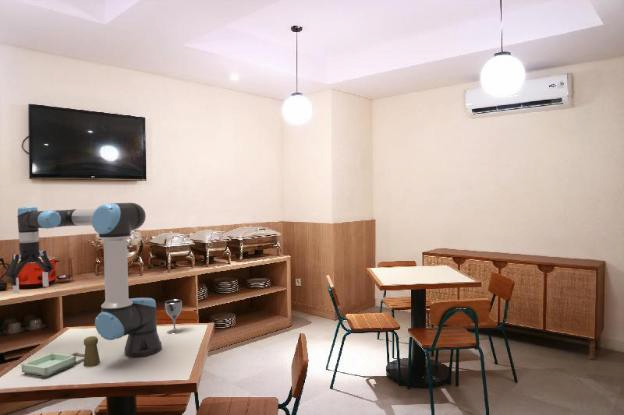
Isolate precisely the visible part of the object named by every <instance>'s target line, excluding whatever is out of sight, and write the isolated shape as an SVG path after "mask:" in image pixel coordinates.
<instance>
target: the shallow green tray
mask: <svg viewBox="0 0 624 415" xmlns="http://www.w3.org/2000/svg"><path fill="white" fill-rule="evenodd" d="M76 357H77V356H72V354H65V353H57V352H51V353H48V354H46V355H43V356H40V357H38V358H34V359H32V360H30V361H27V362H24V363H22V364H21V373H23V374H24V373H30V374H35V375H41V376H48V375H50V374H53V373H55V372H57V371H60V370H62V369H64V368H67V367H69V366H71V365H74V364H76V361H77V358H76ZM76 365H77V364H76ZM74 366H75V365H74ZM71 367H72V366H71ZM69 368H70V367H69ZM67 369H68V368H67ZM60 372H61V371H60ZM57 373H58V372H57ZM55 374H56V373H55ZM53 375H54V374H53ZM50 376H51V375H50ZM48 377H49V376H48Z"/></svg>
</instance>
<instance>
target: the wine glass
mask: <svg viewBox="0 0 624 415" xmlns="http://www.w3.org/2000/svg"><path fill="white" fill-rule="evenodd" d="M164 308H165V311H166V315H168V316H169V317H170V318H171V320H172V324H173V329H169V330H167V332H166V333H167V334H169V335H172V334H173V335H174V334H179V333H182V331H183V330H182V329H180V328H176V321H177V318H178V317H179V316H180V314H181V312H182V308H183V301H182V300H181V299H170V300H166V301H165V302H164Z"/></svg>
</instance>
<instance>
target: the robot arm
mask: <svg viewBox="0 0 624 415" xmlns="http://www.w3.org/2000/svg"><path fill="white" fill-rule="evenodd" d="M146 215H147V214H146V212H145V209H144V208H143V207H142V206H141V205H140V204H138V203H135V202H109V203H103V204H101V205H99V206H97V208H80V209H77V208H73V209H57V210H55V209H54V210H50V209H49V210H39V209H38V207H37V206H20V207H18V208H17V217H16V218H17V227H18V228H17V229H18V242H19V243H18V248H19V249H18V250H19V252H20V253H19V254H12V257H11V262H10V264H9V266H8V269H7V271H6V273H5V278H9V279H10V285H11V286H12V293H13V294H20V283H19V282H20V281H19V277H18V275H19V274H20V273H21V271H22V270H23V268H24V267H25V265H28V264H31V263H35V264H37V266H38V267H39V268H40V269H41V270H42V272H41V273H42V287H45V288H48V287H49V286H50V285H49V283H50V282H49V279H50V273H51V271H52V270H54V269H55V268H54V266H53V264H52V262H51V261H50V259H49V257H48V255H47V250H40V242H39V240H40V232H39V231H40V230H39V229H55V228H61V227H81V226H83V227H84V226H85V227H86V226H89V227H90V226H92V228H93V229H94V231H95V232H96V233H98V237H99V239H100V240H101V241H102V243H103V262H104V263H103V264H104V265H103V266H104V268H103V269H104V298H105V300H104V302H103V303H102V304H101V305H100V306H101V312H100V313H99V314H98V315H97V316H96V317H95V320H94V326H95V329H96V331H97V332H96V333H98V335H100V337H101V338H103V339H105V340H107V341H114V340H118V339H121V338H122V337H125V336H127V338H126V343H125V346H124V356H126V357H129V358H143V357H148V356H151V355H154V354H155V355H156V354H157V353H159V352H161V351H162V348H163V346H162V345H163V344H162V341H161V340H160V337H159V334H158V329H157V328H158V327H157V326H158V324H157V304H156V300H155V299H154V298H152V297H135V298H134V297H133V298H132V297H131V298H129V269H128V268H129V267H128V266H129V264H128V261H129V260H128V240H129V239H130V237H132V236H131V235H132V233H131V231H135V230H137V229H139V228H140V227H142V226H143V225H144V223H145V221H146Z"/></svg>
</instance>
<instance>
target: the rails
mask: <svg viewBox="0 0 624 415" xmlns="http://www.w3.org/2000/svg"><path fill="white" fill-rule="evenodd" d="M71 355H72V356H76V357H83V358H81V359H78V360H76V364H74V365H71V366H69V367H67V368H64V369H62V370H60V371H57V372H55V373H53V374H50V375H48V376H41V375H35V374H30V373H24V372H23V376H26V377H27V376H28V377H34V378H39V379H47V378H48V377H50V376H52V375H54V374H57V373H59V372H63V371H65V370H66V369H69V368H71V367H73V366H75V365H79V364H81V363H84V355H85V353H80V352H74V353H71Z"/></svg>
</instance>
